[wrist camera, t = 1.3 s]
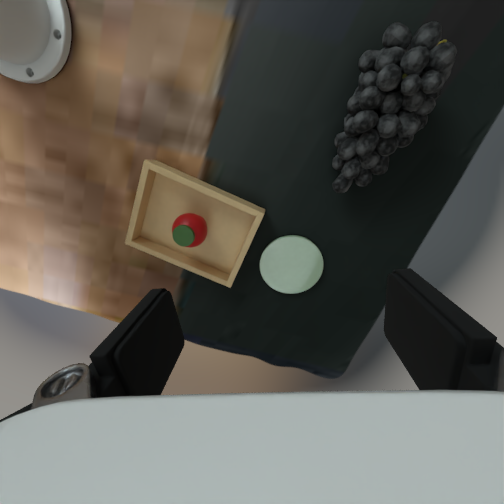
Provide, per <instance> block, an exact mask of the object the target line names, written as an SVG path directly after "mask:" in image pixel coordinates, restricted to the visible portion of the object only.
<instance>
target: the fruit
mask: <svg viewBox="0 0 504 504" xmlns="http://www.w3.org/2000/svg"><path fill="white" fill-rule="evenodd" d="M441 35H442V27H441V24H440V23H438V22H436V21H432V22H429V23H427V24H424V25H423V26H422V27H421V28H420V29H419V30H418V31H417V32H416V33H415V35H414V37H413V39H412V36H411V31H410V30H409V28H408V27H407V26H406V25H404V24H401V23H399V22H395V23H393V24H391V25H389V27H388V28H387V29H386V31H385V33H384V35H383V45H384V46H385V47H384V48H382V49H381V50H380V51H378V50H367V51H366V52H364V53H363V55H362V56H361V58H360V59H359V63H358V67H359V69H360V71H361V74H360V76H359V86H358V87H357V88H356V90H355V93H354V95H353V96H352V97H351V98H350V99H349V101H348V103H347V111H348V112H349V114H347V116H346V117H345V118H344V132H341V133H339V134H337V136H336V138H335V146H336V147H337V148H338V150H337V155H336V156H335V157H334V158H333V162H332V166H333V168H334V169H336V170H338V171H339V170H341V174H340V175H339V176H338V177H337V178H336V180H335V181H334V182H333V184H332V185H333V189H334V191H335V192H337V193H344V192H346V191H347V190H348V189H349V187H350V186H351V184H352V182H353V179H354V180H355V183H356V184H357V185H358V186H362V187H363V186H367V185H368V184H369V183H371V181H372V173H373V174H374V175H381V174H384V173H386V171H387V169H388V164H389V157H388V155H390V154H392V153H394V152H395V150H396V149H397V148H398V147H399V148H402V147H406V146H408V145H409V144H410V143H411V142H412V140H413V137H414V134H415V133H416V132H417V131H419V130H421V129H422V128H424V127H425V125H426V123H427V121H428V116H427V114H429V113H431V112H432V110H433V109H434V107H435V105H436V103H435V100H436V99H437V98H438V96H439V95H440V93H441V88H442V86H443V84H444V82H445V81H446V80H447V79H448V78H449V75H450V72H451V68H452V66H453V65H454V62H455V55H456V53H457V50H456V47H455V45H454V44H452V43H450V42H446V41H447V40H443V41H441V42H439V41H440V40H441ZM411 39H412V40H411ZM410 41H411V49H410V50H409V51H408V50H407V49H406V48H407V47H408V46H409V44H410ZM379 111H381V112H380V113H379V114H377V113H376V112H379Z"/></svg>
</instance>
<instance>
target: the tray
mask: <svg viewBox="0 0 504 504" xmlns="http://www.w3.org/2000/svg"><path fill="white" fill-rule="evenodd" d="M185 213H194V214H197V215H200V216H201V217H203V218H204V220H205V221H206V224H207V230H208V231H207V236H206V239H205V240H204V241H203V243H201V244H200V245H198V246H196V247H192V248H189V247H183V246H180V245H178V244H177V243H176V242H175V241H174V239H173V236H172V225H173V223H174V221H175V219H176V218H177V217H179V216H180V215H182V214H185ZM264 213H265V209H263V208H261V207H259V206H257V205H255V204H252V203H250V202H248V201H246V200H243V199H241V198H239V197H237V196H235V195H232V194H230V193H228V192H226V191H223V190H221V189H219V188H217V187H215V186H212V185H210V184H208V183H206V182H203V181H201V180H199V179H197V178H195V177H192V176H190V175H188V174H186V173H183V172H181V171H179V170H177V169H175V168H172V167H170V166H168V165H166V164H163V163H161V162H159V161H157V160H144V163H143V167H142V172H141V176H140V180H139V185H138V189H137V193H136V197H135V202H134V206H133V210H132V215H131V219H130V223H129V227H128V232H127V236H126V240H125V244H127V245H129V246H132V247H134V248H136V249H139V250H141V251H144V252H146V253H148V254H151V255H153V256H155V257H158V258H160V259H163V260H165V261H167V262H170V263H172V264H175V265H177V266H179V267H182V268H184V269H186V270H189V271H191V272H194V273H196V274H198V275H201V276H203V277H206V278H208V279H210V280H213V281H215V282H218V283H220V284H222V285H225V286H227V287H229V288H231V286H232V283H233V281H234V279H235V277H236V275H237V273H238V270H239V268H240V266H241V264H242V262H243V260H244V257H245V255H246V253H247V251H248V249H249V246H250V244H251V242H252V240H253V238H254V236H255V233H256V231H257V229H258V227H259V225H260V223H261V220H262V218H263V216H264Z"/></svg>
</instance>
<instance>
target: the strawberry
mask: <svg viewBox="0 0 504 504" xmlns="http://www.w3.org/2000/svg"><path fill="white" fill-rule="evenodd" d="M207 231H208V230H207V224H206V221H205V220H204V218H203V217H201V216H200V215H197V214H194V213H185V214H182V215H180V216H179V217H177V218H176V219H175V221H174V223H173V225H172V236H173V239H174V241H175V242H176V243H177V244H178V245H180V246H183V247H189V248H192V247H196V246H198V245H200V244H201V243H203V241H204V240H205V239H206V236H207Z"/></svg>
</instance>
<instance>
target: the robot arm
mask: <svg viewBox="0 0 504 504" xmlns="http://www.w3.org/2000/svg"><path fill="white" fill-rule="evenodd" d="M70 45H71V21H70V15H69V10H68V6H67V3H66V0H0V73H1V74H3V75H4V76H6V77H9V78H11V79H14V80H17V81H21V82H25V83H41V82H45V81H48V80H49V79H51V78H53V77H54V76H55V75H56V74H57V73H58V72H59V71H60V70H61V69H62V67H63V66H64V64H65V62H66V60H67V57H68V54H69V51H70ZM384 332H385V336H386V338H387V339H388V341H389V342H390V344H391V345H392V347H393V349H394V350H395V352H396V353H397V355H398V356H399V358H400V360H401V361H402V363H403V364H404V366H405V368H406V369H407V371H408V372H409V374H410V376H411V377H412V379H413V380H414V382H415V383H416V385H417V387H418V388H419V390H392V391H391V390H387V391H329V392H328V391H327V392H326V391H323V392H275V393H273V392H271V393H225V394H189V395H161V393H162V391H163V389H164V387H165V385H166V382H167V380H168V378H169V376H170V374H171V372H172V370H173V368H174V366H175V364H176V361H177V359H178V357H179V355H180V353H181V351H182V349H183V346H184V336H183V333H182V329H181V326H180V322H179V319H178V316H177V312H176V309H175V305H174V302H173V299H172V295H171V293H170V292H169V291H167V290H166V289H165V288H163V289H152V290H151V291H150V292H149V293H148V294H147V295H146V296H145V297H144V298H143V299H142V300H141V301H140V302H139V303H138V304H137V305H136V307H135V308H134V309H133V310H132V311H131V312H130V313H129V314H128V315H127V316H126V317H125V318H124V319H123V320H122V322H121V323H120V324H119V325H118V326H117V327H116V328H115V329H114V330H113V331H112V332H111V333H110V334H109V336H108V337H107V338H106V339H105V340H104V341H103V342H102V343H101V344H100V345H99V346H98V347H97V348H96V349H95V350H94V352H93V353H92V354H91V355H90V358H91V360H92V363H91V364H90V365H89V366H87V365H86V364H82V363H78V364H73V365H70V366H68V367H65V368H63V369H61V370H59V371H57V372H55V373H54V374H52V375H51V376H50V377H48V378H47V379H46V380H45V381H44V382H43V383H42V384H41V385H40V386H39V387H38V388H37V390H36V392H35V395H34V399H33V403H31V404H30V405H28V406H26V407H24V408H22V409H20V410H18V411H17V412H15V413H13V414H11V415H9V416H7V417H5V418H3V419H1V420H0V504H504V348H503V347H502V346H501V345H500V344H499V343H497V342H496V340H497V337H496V336H495V335H493V334H492V333H491V332H489V331H488V330H487V329H486V328H485V327H483V326H482V325H481V324H479V323H478V322H477V321H476V320H474V319H473V318H472V317H471V316H469V315H468V314H467V313H466V312H464V311H463V310H462V309H461V308H459V307H458V306H457V305H456V304H454V303H453V302H452V301H450V300H449V299H448V298H447V297H446V296H444V295H443V294H442V293H441V292H439V291H438V290H437V289H436V288H434V287H433V286H432V285H431V284H429V283H428V282H427V281H425V280H424V279H423V278H422V277H420V276H419V275H418V274H417V273H416V272H414V271H413V270H412V269H397V270H393V272H392V273H391V274H388V278H387V292H386V305H385V319H384Z"/></svg>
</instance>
